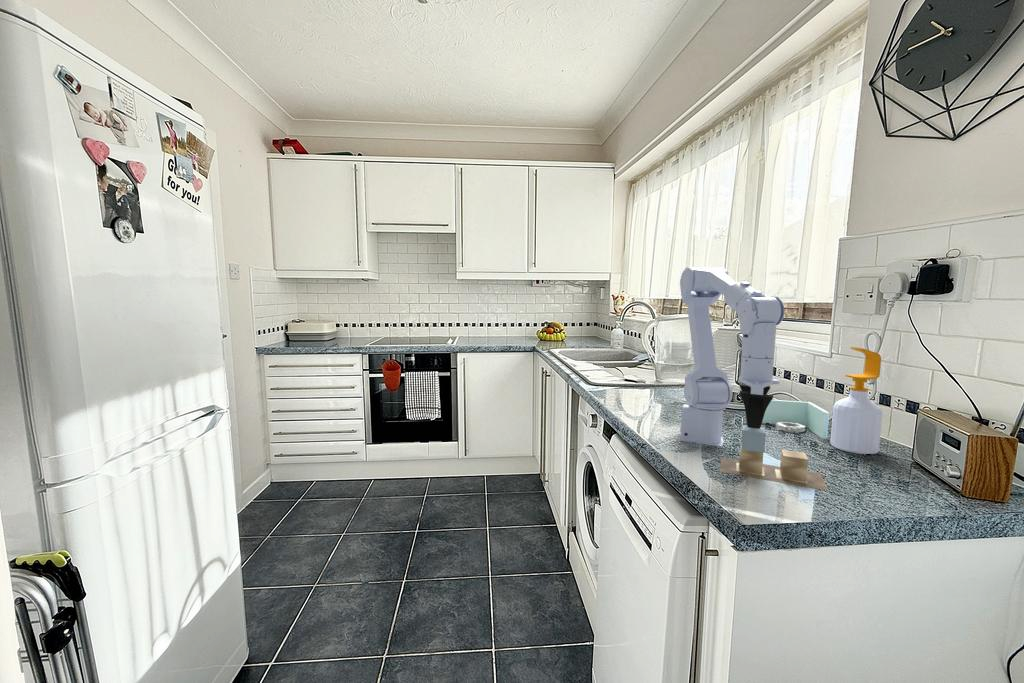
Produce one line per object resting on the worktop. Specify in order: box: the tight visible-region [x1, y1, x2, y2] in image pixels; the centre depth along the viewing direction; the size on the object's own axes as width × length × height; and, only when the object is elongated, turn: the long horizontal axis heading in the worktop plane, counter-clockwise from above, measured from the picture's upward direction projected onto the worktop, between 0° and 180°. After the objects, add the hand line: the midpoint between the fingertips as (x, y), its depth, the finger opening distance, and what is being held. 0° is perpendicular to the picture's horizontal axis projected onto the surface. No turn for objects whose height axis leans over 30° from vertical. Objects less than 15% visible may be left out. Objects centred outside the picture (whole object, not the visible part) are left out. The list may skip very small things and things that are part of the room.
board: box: [719, 457, 829, 492], centre depth 86 cm, size 18×9×1 cm, turn 62°
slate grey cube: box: [741, 424, 767, 454], centre depth 87 cm, size 4×4×4 cm
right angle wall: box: [762, 399, 830, 440], centre depth 116 cm, size 12×12×8 cm
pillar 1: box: [738, 443, 764, 474], centre depth 87 cm, size 4×4×4 cm
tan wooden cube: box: [779, 449, 809, 482], centre depth 84 cm, size 4×4×4 cm
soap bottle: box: [830, 346, 883, 456], centre depth 101 cm, size 9×9×25 cm
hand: (753, 422), depth 86 cm, fingers open, 7 cm apart
